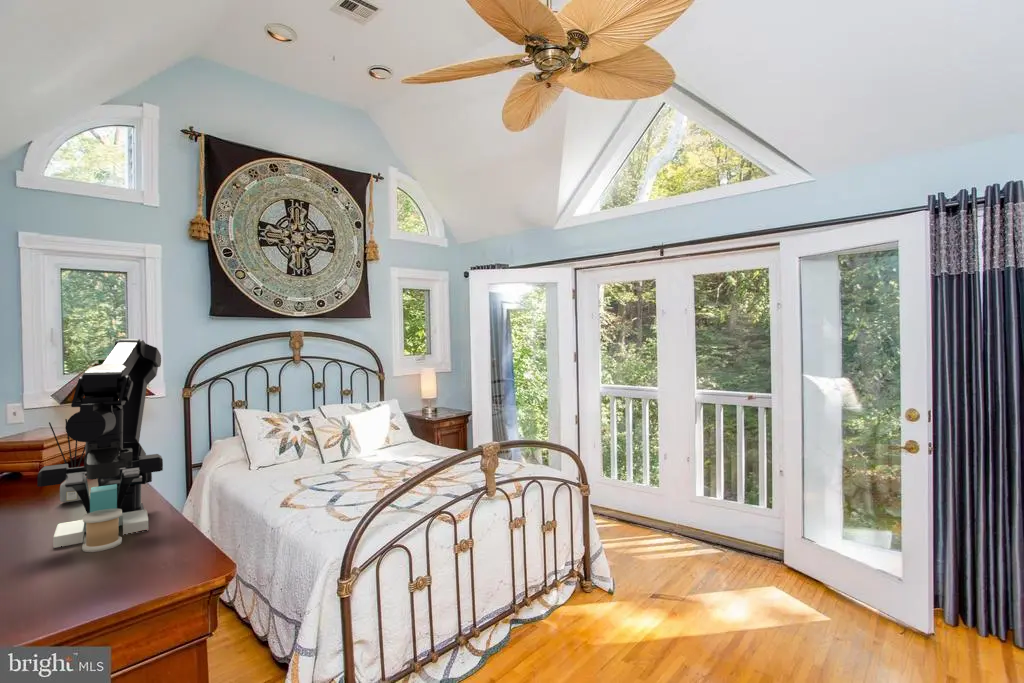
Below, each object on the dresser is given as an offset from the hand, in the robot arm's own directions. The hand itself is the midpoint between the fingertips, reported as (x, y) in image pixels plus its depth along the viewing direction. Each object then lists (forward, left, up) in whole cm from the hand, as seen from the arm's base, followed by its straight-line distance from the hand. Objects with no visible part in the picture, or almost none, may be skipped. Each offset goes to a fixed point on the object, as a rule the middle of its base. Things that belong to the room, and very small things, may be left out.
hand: (103, 512), depth 97 cm
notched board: (-1, 0, -4) cm, 4 cm away
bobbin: (+8, 0, -4) cm, 9 cm away
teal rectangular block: (0, 0, -1) cm, 1 cm away
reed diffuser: (-32, -6, -4) cm, 33 cm away
